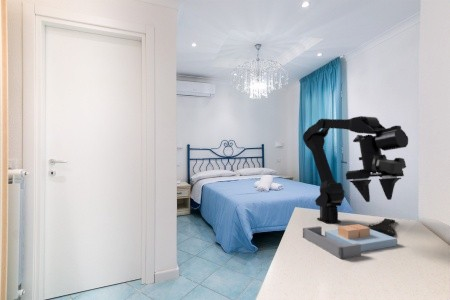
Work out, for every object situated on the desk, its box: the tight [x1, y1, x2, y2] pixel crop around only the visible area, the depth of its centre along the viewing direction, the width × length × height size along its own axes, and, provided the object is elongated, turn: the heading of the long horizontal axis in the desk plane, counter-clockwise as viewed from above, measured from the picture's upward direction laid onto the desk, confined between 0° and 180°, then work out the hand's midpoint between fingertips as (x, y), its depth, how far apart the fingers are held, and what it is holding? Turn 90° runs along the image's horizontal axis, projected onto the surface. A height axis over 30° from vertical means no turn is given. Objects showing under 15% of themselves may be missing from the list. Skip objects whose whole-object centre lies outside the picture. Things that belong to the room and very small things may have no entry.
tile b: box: [337, 225, 359, 239], centre depth 71 cm, size 4×4×2 cm
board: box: [324, 228, 398, 252], centre depth 72 cm, size 12×16×2 cm
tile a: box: [348, 223, 370, 237], centre depth 72 cm, size 4×4×2 cm
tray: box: [302, 225, 362, 260], centre depth 69 cm, size 16×7×3 cm, turn 17°
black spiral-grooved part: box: [367, 217, 396, 237], centre depth 85 cm, size 8×4×25 cm
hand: (378, 200), depth 74 cm, fingers open, 9 cm apart
